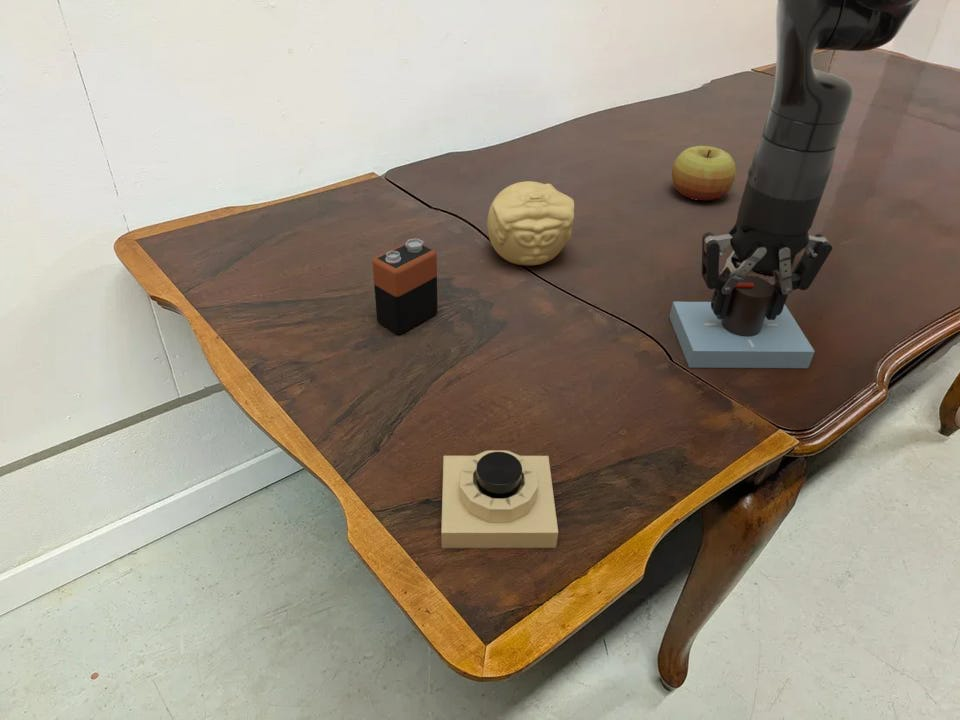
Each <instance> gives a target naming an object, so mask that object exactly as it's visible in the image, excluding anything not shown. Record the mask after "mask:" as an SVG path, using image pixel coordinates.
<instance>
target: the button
mask: <svg viewBox="0 0 960 720" xmlns="http://www.w3.org/2000/svg"><path fill="white" fill-rule="evenodd" d="M521 479H522V466H521V463H520V462H519V460H518V459H517V458H516V457H515V456H513V455H511V454H509V453H505V452H492V453H488V454H486V455H484V456H483V457H482V458H481V459H480V460H479V461H478V463H477V468H476V483H477V486H478V488H479V490H480V491H481V492H482V493H484V494H485V495H487V496H489V497H492V498H507V497H510V496H512V495H514V494H515V493H516V492H517V491H518V490H519V488H520V486H521Z"/></svg>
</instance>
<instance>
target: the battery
mask: <svg viewBox="0 0 960 720" xmlns="http://www.w3.org/2000/svg"><path fill="white" fill-rule="evenodd" d="M424 243H425V242H424V241H423V240H422V239H420V238H410V239H408V240H407V241H406V242H404V243H403V244H400V245H399V246H396V247H393V248H391V249H390V250H388V251H386V252H384V253H382V254H380V255H377V256H375V257H373V258H372V261H371V262H372V263H371V264H372V273H373V285H374V286H373V287H374V288H373V289H374V299H375V312H376V319H377V320H376V321H377V322H378V323H379V324H381V325H382V326H384V327H386V328H387V329H389V330H391V331H392V332H394V333H396V334H397V335H402V334H404V333H405V332H407V331H409V330H410V329H413V328H414V327H416V326H418V325H419V324H421V323H423V322H424V321H427V320H428V319H429V318H431V317H433V316H435V315H436V314H437V313H438V312H439V311H438V265H437V264H438V258H437V257H438V253H437V251H436V250H435V249H433V248H431V247H428V246H426V245H425V244H424Z"/></svg>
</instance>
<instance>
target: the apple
mask: <svg viewBox="0 0 960 720" xmlns="http://www.w3.org/2000/svg"><path fill="white" fill-rule="evenodd" d="M736 172H737V167H736V163H735V161H734V159H733V157H732V155H731V154H729V153H728V152H727V151H725V150H723V149H721V148H718V147H715V146H710V145H696V146H690V147H688V148H686V149H684V150H683V151H681V153H679V154H678V156H677V157H676V159H675V160H674V162H673V165H672V168H671V179H672V183H673V186H674V188H675V190H677V191H678V192H679V194H680V195H682V196H683V197H685V196H686V197H685V198H687V197H689V198H693V199H697V200H710V201H713V200H716V198H717V199H719V198H721V197H722V196H724V195H725V194H726V193H727V192H729V190H730V189H731V188H732V186H733V184H734V182H735V177H736ZM689 198H688V199H689ZM693 199H692V200H693ZM697 200H696V201H697Z"/></svg>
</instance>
